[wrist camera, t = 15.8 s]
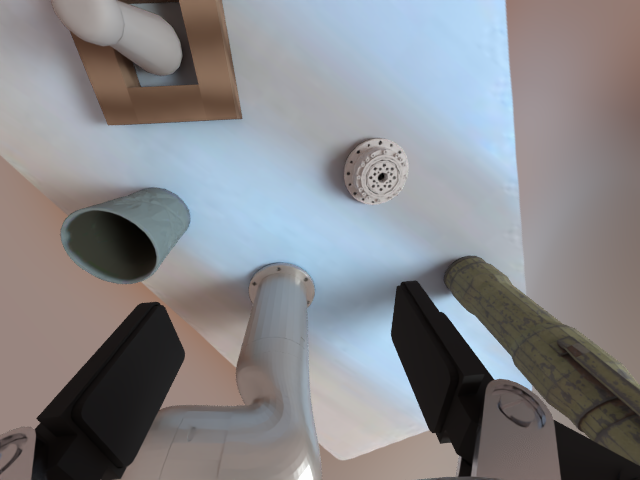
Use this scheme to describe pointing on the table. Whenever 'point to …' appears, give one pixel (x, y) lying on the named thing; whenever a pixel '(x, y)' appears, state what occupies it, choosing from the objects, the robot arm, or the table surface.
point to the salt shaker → (124, 32)
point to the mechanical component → (376, 171)
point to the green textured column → (554, 357)
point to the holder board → (169, 101)
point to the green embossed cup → (126, 235)
